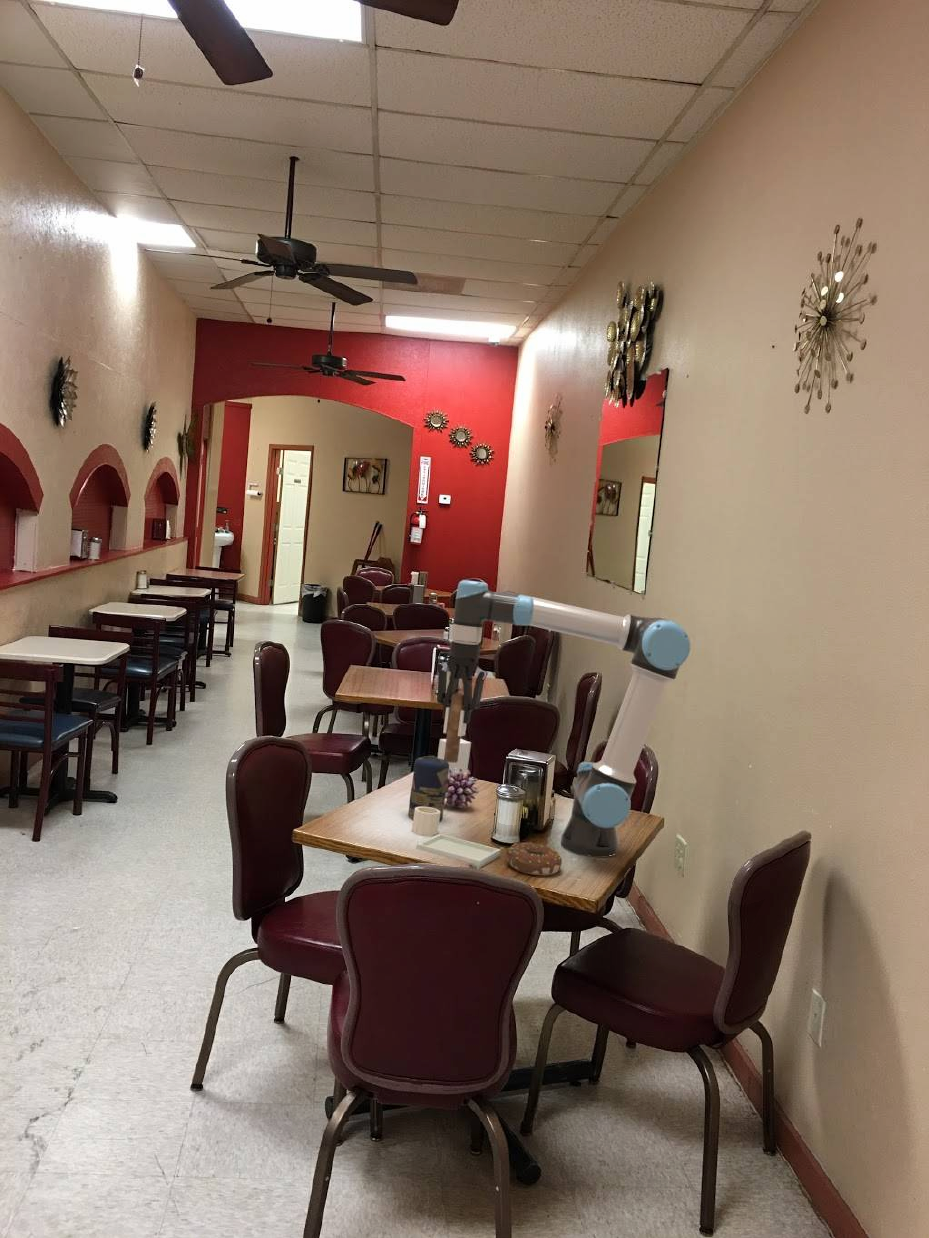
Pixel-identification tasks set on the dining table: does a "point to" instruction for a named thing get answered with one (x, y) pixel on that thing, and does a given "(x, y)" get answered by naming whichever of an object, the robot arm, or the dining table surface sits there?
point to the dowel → (454, 729)
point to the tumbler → (426, 821)
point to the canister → (429, 784)
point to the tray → (460, 850)
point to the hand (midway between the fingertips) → (454, 733)
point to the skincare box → (462, 756)
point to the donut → (534, 858)
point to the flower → (460, 788)
